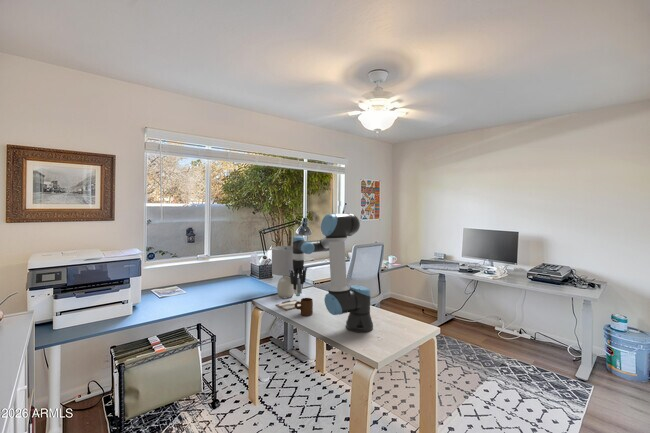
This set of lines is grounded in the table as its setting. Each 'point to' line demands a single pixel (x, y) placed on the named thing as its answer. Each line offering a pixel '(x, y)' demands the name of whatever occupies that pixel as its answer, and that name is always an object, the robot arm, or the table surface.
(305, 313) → the mug
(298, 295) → the marker
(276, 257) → the lamp
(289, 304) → the clipboard
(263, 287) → the table surface
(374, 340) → the table surface
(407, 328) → the table surface
